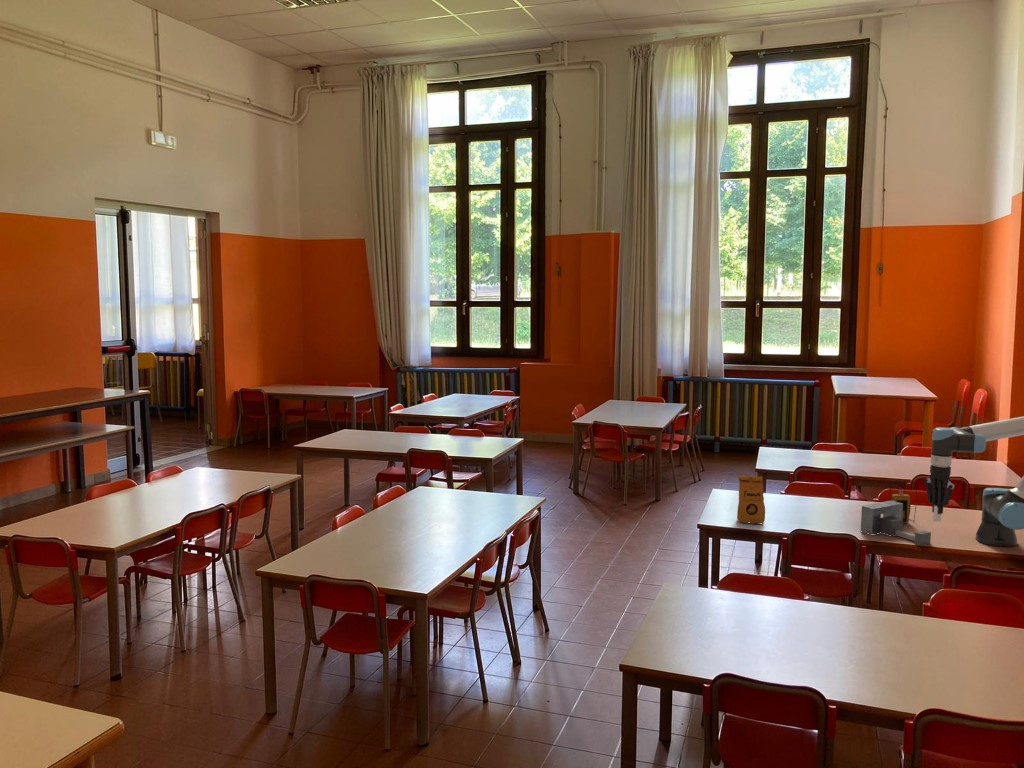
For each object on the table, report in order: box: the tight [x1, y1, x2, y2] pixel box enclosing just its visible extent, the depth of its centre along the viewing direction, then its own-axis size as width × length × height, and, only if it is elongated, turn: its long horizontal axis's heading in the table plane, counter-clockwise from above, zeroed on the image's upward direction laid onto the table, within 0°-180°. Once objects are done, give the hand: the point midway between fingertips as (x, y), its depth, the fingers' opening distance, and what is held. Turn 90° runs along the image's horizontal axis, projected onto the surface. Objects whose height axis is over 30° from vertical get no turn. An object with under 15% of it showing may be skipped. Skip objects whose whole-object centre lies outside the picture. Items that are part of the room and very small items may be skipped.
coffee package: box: [736, 475, 766, 524], centre depth 371 cm, size 10×12×22 cm
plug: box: [880, 516, 932, 547], centre depth 347 cm, size 20×7×7 cm, turn 26°
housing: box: [860, 499, 903, 535], centre depth 357 cm, size 6×19×12 cm, turn 116°
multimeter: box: [889, 480, 918, 524], centre depth 372 cm, size 15×10×20 cm
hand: (936, 520), depth 332 cm, fingers closed
